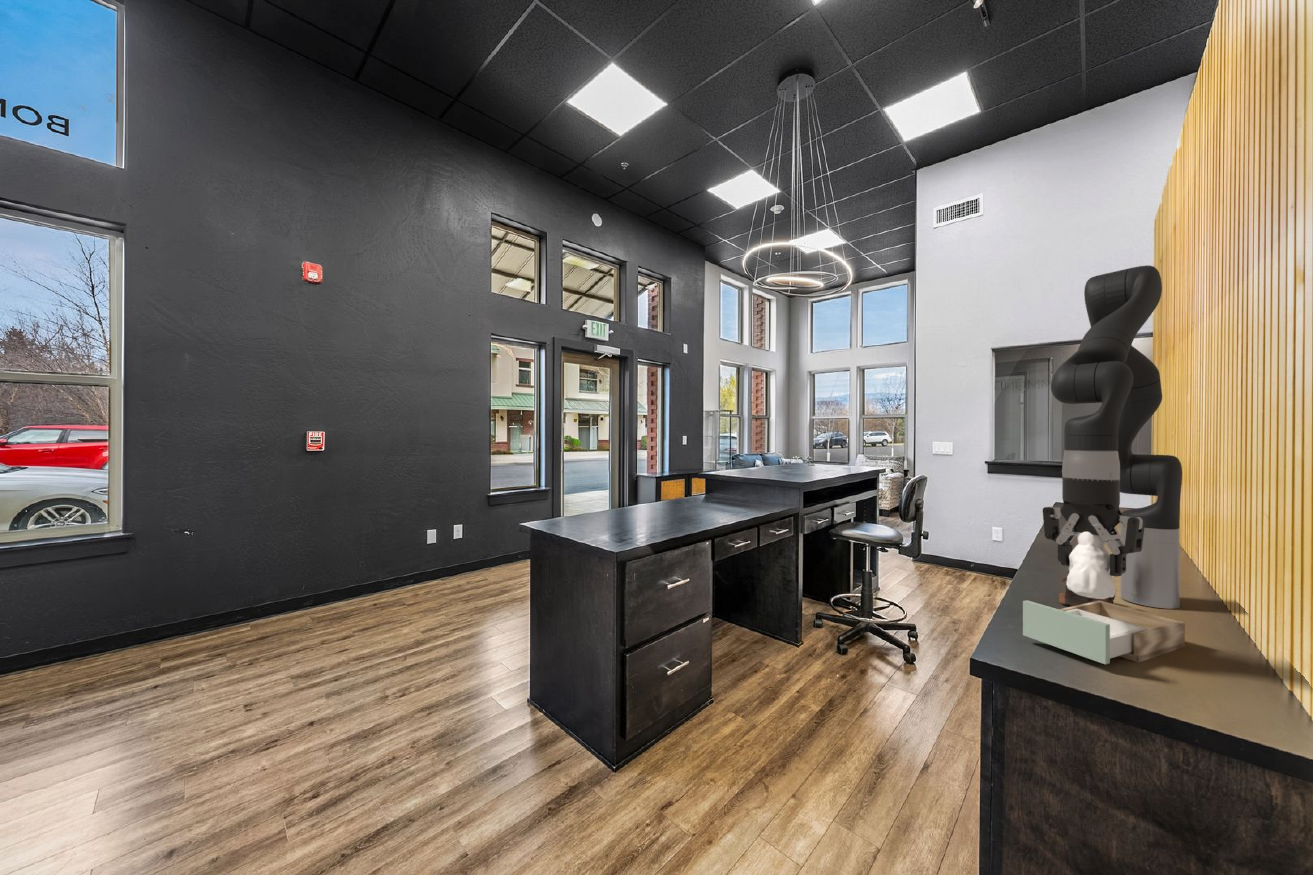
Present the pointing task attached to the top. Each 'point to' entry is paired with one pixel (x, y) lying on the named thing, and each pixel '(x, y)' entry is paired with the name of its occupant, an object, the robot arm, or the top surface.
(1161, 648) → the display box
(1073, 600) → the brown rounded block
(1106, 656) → the drawer
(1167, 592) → the robot arm
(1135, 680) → the top surface
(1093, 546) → the white rounded figure
